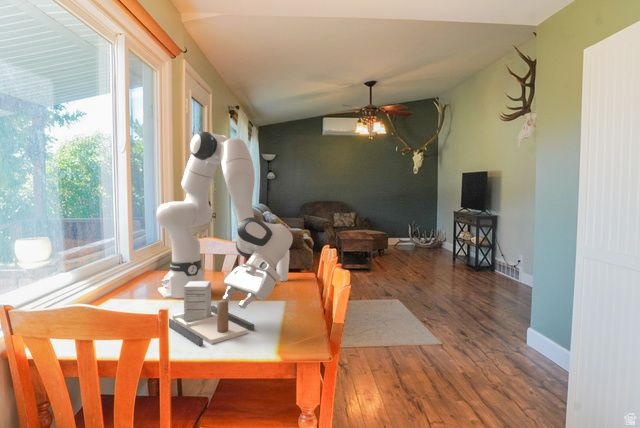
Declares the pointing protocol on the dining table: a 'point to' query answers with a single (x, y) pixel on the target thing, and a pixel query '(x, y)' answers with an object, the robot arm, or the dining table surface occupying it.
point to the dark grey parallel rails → (199, 340)
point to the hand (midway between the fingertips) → (232, 304)
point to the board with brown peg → (213, 325)
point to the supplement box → (197, 300)
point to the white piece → (283, 267)
